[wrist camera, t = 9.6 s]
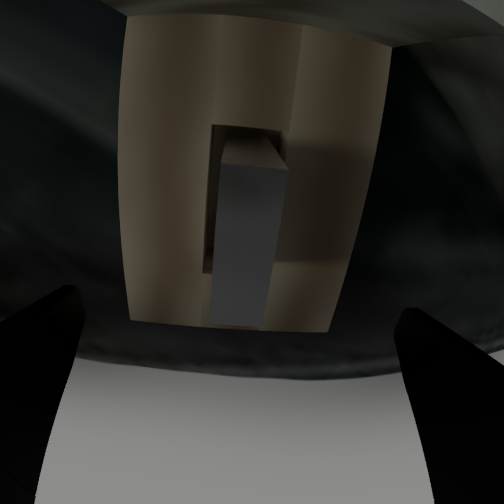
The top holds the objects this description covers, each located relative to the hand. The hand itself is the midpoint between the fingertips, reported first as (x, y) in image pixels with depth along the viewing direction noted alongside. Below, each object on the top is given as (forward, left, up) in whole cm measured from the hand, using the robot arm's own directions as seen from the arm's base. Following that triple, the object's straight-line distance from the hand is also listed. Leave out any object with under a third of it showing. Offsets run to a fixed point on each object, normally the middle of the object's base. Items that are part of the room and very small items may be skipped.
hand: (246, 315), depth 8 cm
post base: (0, +1, -12) cm, 12 cm away
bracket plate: (0, 0, -11) cm, 11 cm away
